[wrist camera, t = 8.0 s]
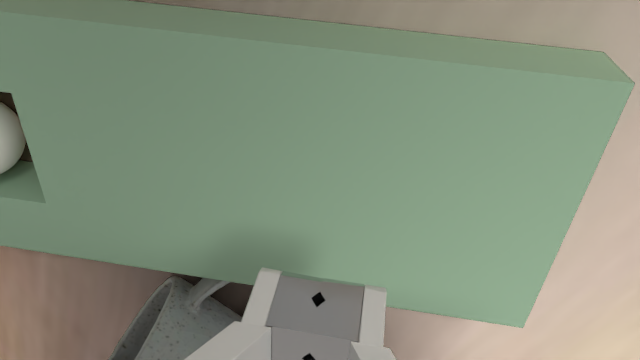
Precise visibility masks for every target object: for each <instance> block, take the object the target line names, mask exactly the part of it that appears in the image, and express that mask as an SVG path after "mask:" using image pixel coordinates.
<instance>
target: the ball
mask: <svg viewBox="0 0 640 360" xmlns="http://www.w3.org/2000/svg"><path fill="white" fill-rule="evenodd" d="M24 147H25V135H24V132H23V129H22V126H21V122H20V119H19V118H18V116H17V115H16V114H15V113H14V112H13V111H12V110H11V109H10V108H9V107H8V106H6V105H5V104H3V103H1V102H0V174H2V173H4V172H6V171H7V170H9V169H10V168H11V167H13V166H14V165H15V164H16V163H17V161H18V160H19V158H20V157H21V155H22V153H23V151H24Z"/></svg>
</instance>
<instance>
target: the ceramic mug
mask: <svg viewBox="0 0 640 360" xmlns="http://www.w3.org/2000/svg"><path fill="white" fill-rule="evenodd" d="M228 283H230V282H228V281H222V280H216V279H209V278H203V279H201V280H200V281H199V283H198V284H197V285H196V286H193V285H192V284H190V283H189V282H187V281H185V280H184V279H182V278H180V277H177V276H173V277H170V278H168V279H167V280H166V281H165V282H164V283H163V284H162V285H161V286H159V287H158V288H157V290H156V291H155V292H154V293H153V294H152V296H151V297H150V298H149V299H148V300H147V301H146V303H145V305H144V306H143V307H142V308H141V310H140V311H139V313H138V314H137V316H136V317H135V319H134V320H133V321H132V323H131V324H130V326H129V327H128V329H127V330H126V332H125V333H124V335H123V336H122V338H121V339H120V341H119V342H118V344H117V346H116V348H115V350H114V351H113V353H112V355H111V356H110V358H109V359H108V360H184V359H185V358H187V357H188V356H189V355H191V354H192V353H193V352H195V351H196V350H197V349H199V348H200V347H201V346H203V345H204V344H205V343H207V342H208V341H209V340H210V339H212V338H213V337H214V336H216V335H217V334H218V333H220V332H221V331H222V330H224V329H225V328H226V327H228V326H229V325H230V324H232V323H233V322H234V321H238V322H241V320H242V317H241V316H239V315H238V314H236V313H235V312H234V311H232V310H231V309H229V308H228V307H226V306H224V305H223V304H221V303H220V302H218V301H217V300H215V299H214V298H212V297H211V296H210V295H211V294H213V293H214V292H215V291H216V290H218V289H220V288H221V287H223V286H225V285H226V284H228Z"/></svg>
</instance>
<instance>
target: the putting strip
mask: <svg viewBox="0 0 640 360" xmlns="http://www.w3.org/2000/svg"><path fill="white" fill-rule="evenodd" d="M634 84H635V83H634V82H633V81H632V80H631V79H630V78H629V77H628V76H627V75H626V74H625V73H624V72H623V71H622V70H621V69H620V68H619V67H618V66H617V65H616V64H615V63H614V62H613V61H612V60H611V59H610V58H609V57H608V56H607V55H606V54H605V53H604V52H598V51H589V50H580V49H571V48H561V47H552V46H543V45H534V44H524V43H515V42H506V41H497V40H488V39H478V38H469V37H460V36H451V35H441V34H432V33H423V32H414V31H404V30H395V29H386V28H377V27H368V26H358V25H349V24H340V23H331V22H321V21H312V20H303V19H294V18H285V17H275V16H266V15H257V14H248V13H238V12H229V11H220V10H211V9H201V8H192V7H183V6H174V5H165V4H155V3H146V2H137V1H128V0H0V92H7V93H11V94H12V97H13V100H14V104H15V107H16V110H17V113H18V116H19V119H20V122H21V126H22V129H23V132H24V135H25V138H26V141H27V144H28V148H29V151H30V154H31V157H32V160H33V162H28V161H21V160H18V161H17V163H16V164H15V165H14V166H13V167H11V168H10V169H9V170H7V171H6V172H4V173H2V174H0V246H7V247H13V248H19V249H26V250H32V251H38V252H45V253H51V254H57V255H64V256H70V257H76V258H83V259H89V260H95V261H102V262H108V263H114V264H121V265H127V266H133V267H140V268H146V269H152V270H159V271H165V272H171V273H178V274H184V275H190V276H197V277H203V278H209V279H216V280H222V281H228V282H235V283H241V284H247V285H254V284H255V281H256V278H257V275H258V272H259V271H260V270H261V268H262V267H264V268H269V269H274V270H280V271H287V272H292V273H297V274H302V275H308V276H313V277H318V278H327V279H334V280H340V281H347V282H353V283H360V284H364V285H371V286H378V287H384V288H386V291H387V295H386V306H387V307H393V308H399V309H406V310H412V311H418V312H425V313H431V314H437V315H444V316H450V317H456V318H463V319H469V320H475V321H482V322H488V323H495V324H501V325H507V326H514V327H520V328H523V327H524V324H525V322H526V320H527V318H528V316H529V314H530V311H531V309H532V307H533V305H534V303H535V300H536V298H537V296H538V294H539V292H540V290H541V287H542V285H543V283H544V281H545V279H546V276H547V274H548V272H549V270H550V268H551V266H552V263H553V261H554V259H555V257H556V255H557V252H558V250H559V248H560V246H561V244H562V242H563V239H564V237H565V235H566V233H567V231H568V228H569V226H570V224H571V222H572V220H573V218H574V215H575V213H576V211H577V209H578V207H579V204H580V202H581V200H582V198H583V196H584V194H585V191H586V189H587V187H588V185H589V183H590V180H591V178H592V176H593V174H594V172H595V169H596V167H597V165H598V163H599V161H600V159H601V156H602V154H603V152H604V150H605V148H606V145H607V143H608V141H609V139H610V137H611V135H612V132H613V130H614V128H615V126H616V124H617V121H618V119H619V117H620V115H621V113H622V111H623V108H624V106H625V104H626V102H627V100H628V97H629V95H630V93H631V91H632V89H633V87H634Z"/></svg>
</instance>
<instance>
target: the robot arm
mask: <svg viewBox="0 0 640 360" xmlns="http://www.w3.org/2000/svg"><path fill="white" fill-rule="evenodd" d="M386 295H387V291H386V288H384V287H378V286H371V285H364V284H360V283H353V282H347V281H340V280H334V279H327V278H318V277H313V276H308V275H302V274H297V273H292V272H287V271H280V270H274V269H269V268H264V267H262V268H261V270H260V271H259V272H258V275H257V278H256V281H255V284H254V286H253V289H252V292H251V295H250V298H249V300H248V303H247V306H246V309H245V312H244V314H243V317H242V320H241V322H238V321H234V322H233V323H232V324H230V325H229V326H228V327H226V328H225V329H224V330H222V331H221V332H220V333H218V334H217V335H216V336H214V337H213V338H212V339H210V340H209V341H208V342H207V343H205V344H204V345H203V346H201V347H200V348H199V349H197V350H196V351H195V352H193V353H192V354H191V355H189V356H188V357H187V358H185V359H184V360H396V358H395V356H394V355H393V353H392V351H391V350H390V348H386V347H383V345H384V328H385V312H386Z"/></svg>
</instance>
